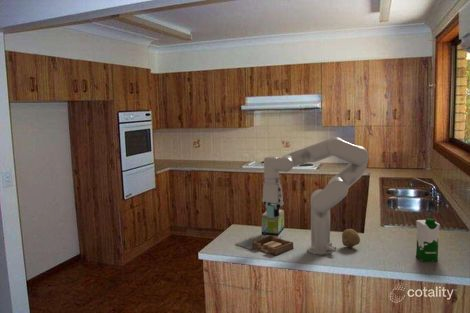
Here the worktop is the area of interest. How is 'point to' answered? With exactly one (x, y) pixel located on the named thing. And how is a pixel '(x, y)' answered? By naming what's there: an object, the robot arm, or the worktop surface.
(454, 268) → the worktop surface
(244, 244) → the slate pad
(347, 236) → the natural sponge
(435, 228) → the milk carton
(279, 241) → the crate
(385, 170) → the worktop surface
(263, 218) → the tea box
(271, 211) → the teal block
